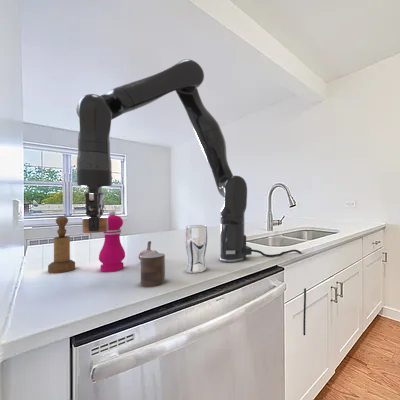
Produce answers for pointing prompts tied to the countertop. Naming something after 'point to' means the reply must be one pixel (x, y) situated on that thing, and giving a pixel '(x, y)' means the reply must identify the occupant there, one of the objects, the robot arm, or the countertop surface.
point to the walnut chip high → (152, 262)
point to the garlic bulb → (147, 251)
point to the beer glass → (196, 247)
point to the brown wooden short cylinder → (102, 225)
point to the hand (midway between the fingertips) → (95, 229)
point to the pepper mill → (112, 245)
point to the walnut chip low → (152, 278)
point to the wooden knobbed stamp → (61, 250)
